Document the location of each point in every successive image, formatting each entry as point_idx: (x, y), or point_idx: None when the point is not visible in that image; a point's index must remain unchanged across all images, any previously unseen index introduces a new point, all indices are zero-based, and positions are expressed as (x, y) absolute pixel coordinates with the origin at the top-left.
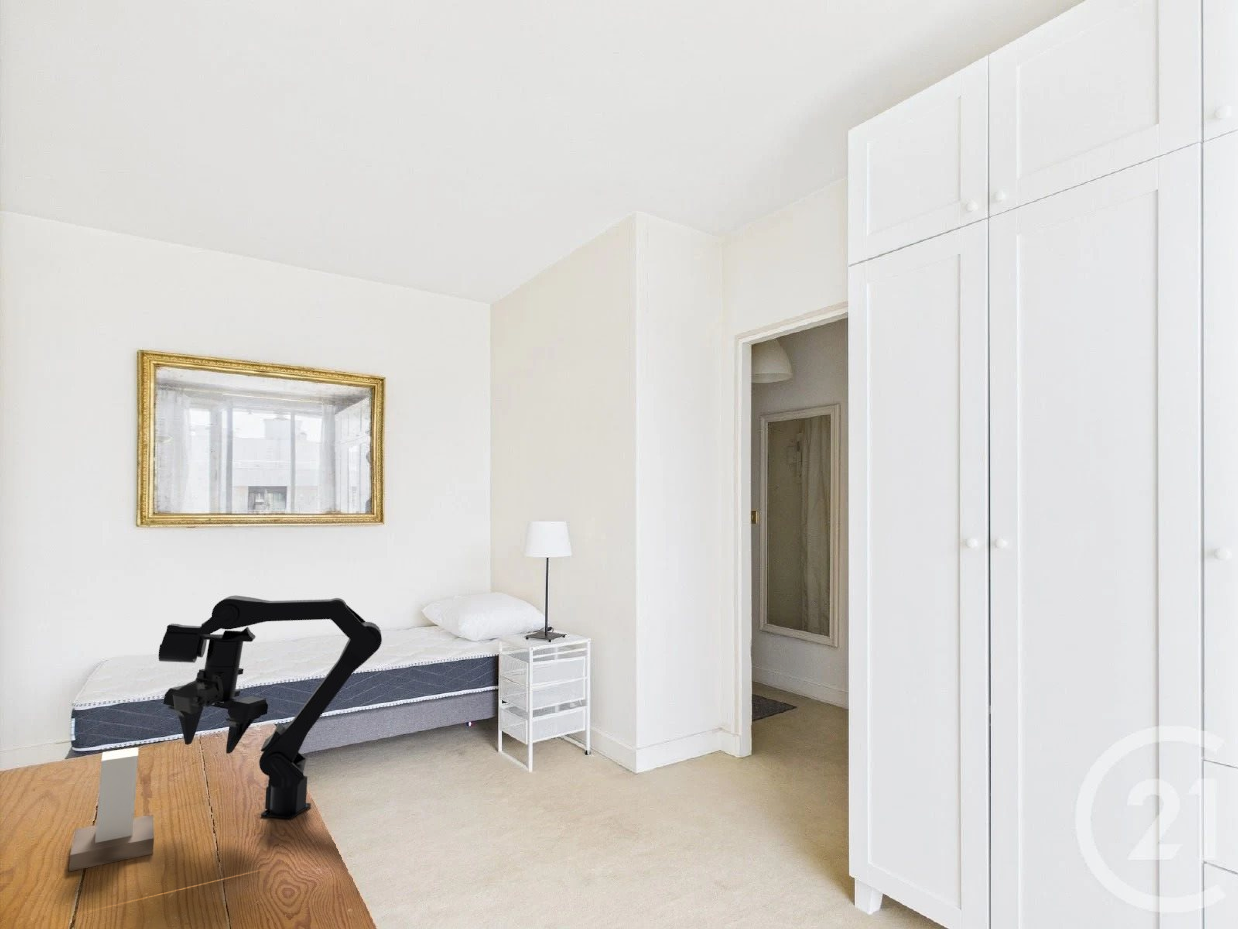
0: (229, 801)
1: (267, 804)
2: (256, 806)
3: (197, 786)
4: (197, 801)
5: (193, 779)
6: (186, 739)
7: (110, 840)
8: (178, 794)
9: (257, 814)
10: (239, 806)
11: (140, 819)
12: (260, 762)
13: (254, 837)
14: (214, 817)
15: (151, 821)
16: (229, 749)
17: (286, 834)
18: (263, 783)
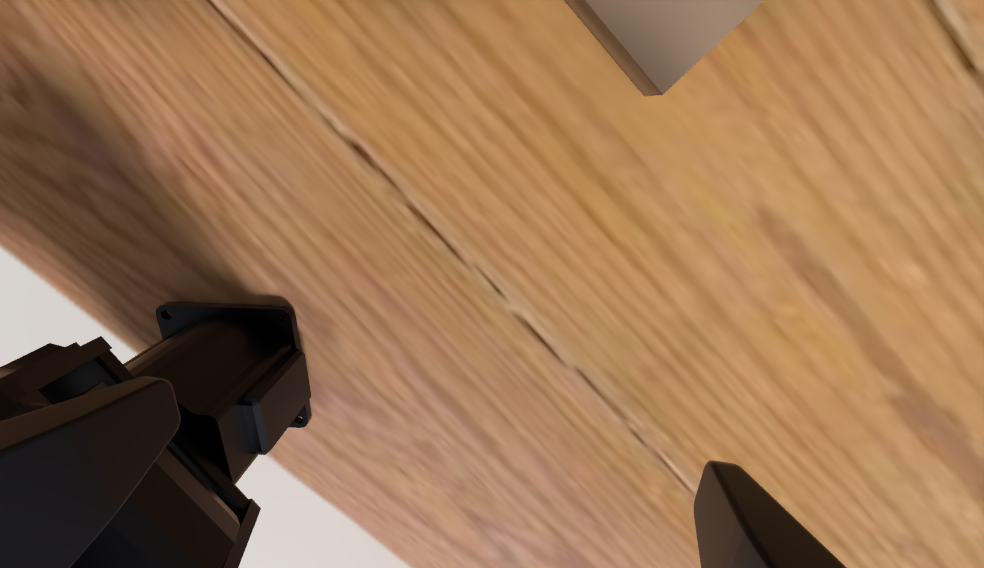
0: (525, 410)
1: (274, 353)
2: (388, 387)
3: None
4: (655, 392)
5: None
6: (739, 505)
7: None
8: (785, 437)
9: (327, 327)
10: (452, 378)
11: (687, 16)
12: (26, 405)
13: (159, 136)
14: (469, 273)
15: (601, 4)
16: (83, 398)
17: (71, 189)
18: (519, 555)
